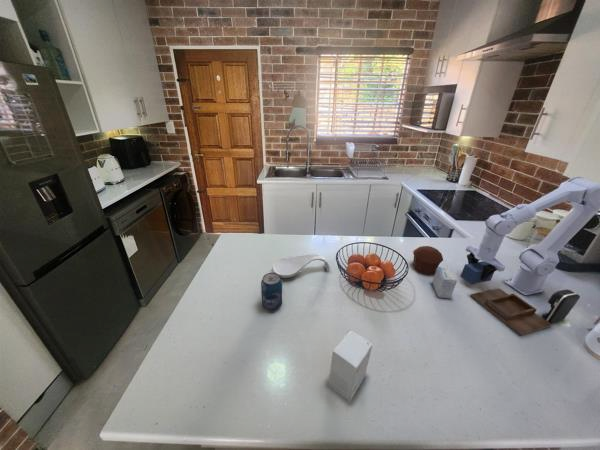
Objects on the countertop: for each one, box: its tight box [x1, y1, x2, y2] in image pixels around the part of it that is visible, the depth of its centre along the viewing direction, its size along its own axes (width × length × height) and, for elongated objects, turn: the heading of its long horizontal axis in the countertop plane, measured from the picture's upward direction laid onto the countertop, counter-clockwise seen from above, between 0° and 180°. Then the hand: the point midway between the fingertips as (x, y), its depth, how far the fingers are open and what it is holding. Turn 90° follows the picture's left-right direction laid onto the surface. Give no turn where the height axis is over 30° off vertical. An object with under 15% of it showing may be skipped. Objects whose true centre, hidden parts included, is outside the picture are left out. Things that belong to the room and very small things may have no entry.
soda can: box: [260, 272, 283, 313], centre depth 82 cm, size 7×7×12 cm
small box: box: [328, 329, 374, 402], centre depth 60 cm, size 8×6×13 cm
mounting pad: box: [470, 288, 553, 337], centre depth 86 cm, size 14×18×3 cm
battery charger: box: [541, 289, 581, 323], centre depth 82 cm, size 7×4×11 cm, turn 103°
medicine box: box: [431, 266, 458, 300], centre depth 93 cm, size 8×4×9 cm, turn 168°
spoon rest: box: [272, 253, 331, 279], centre depth 101 cm, size 24×12×7 cm, turn 103°
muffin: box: [412, 245, 444, 275], centre depth 105 cm, size 12×11×10 cm
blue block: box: [459, 260, 495, 285], centre depth 98 cm, size 10×5×6 cm, turn 106°
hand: (476, 275), depth 98 cm, fingers closed on blue block, 5 cm apart
